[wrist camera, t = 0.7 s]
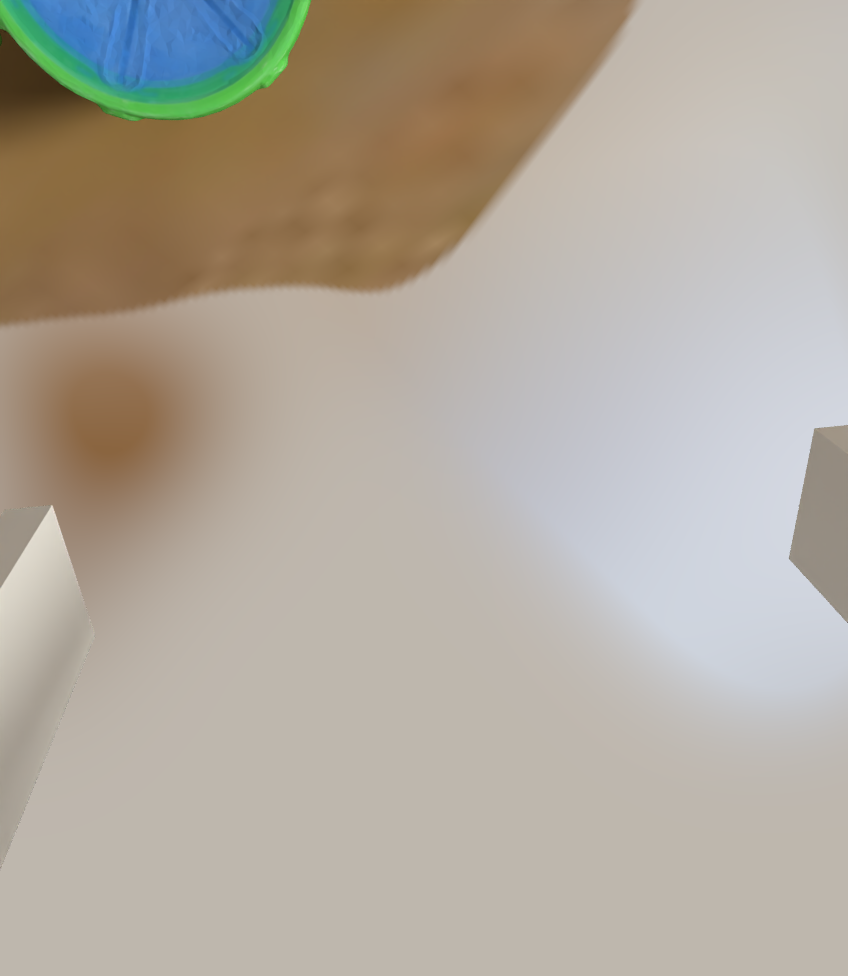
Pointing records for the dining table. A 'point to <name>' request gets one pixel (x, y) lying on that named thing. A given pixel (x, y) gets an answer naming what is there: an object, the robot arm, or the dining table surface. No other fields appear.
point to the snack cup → (158, 50)
